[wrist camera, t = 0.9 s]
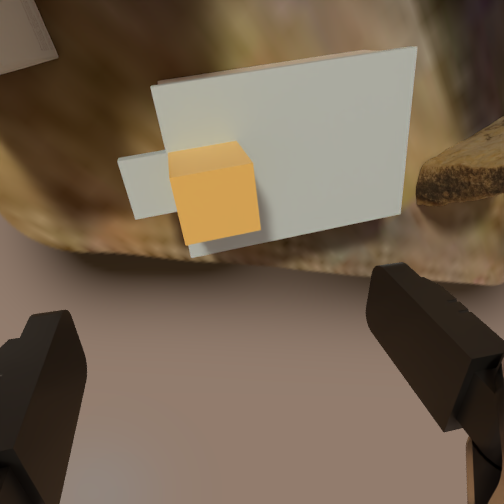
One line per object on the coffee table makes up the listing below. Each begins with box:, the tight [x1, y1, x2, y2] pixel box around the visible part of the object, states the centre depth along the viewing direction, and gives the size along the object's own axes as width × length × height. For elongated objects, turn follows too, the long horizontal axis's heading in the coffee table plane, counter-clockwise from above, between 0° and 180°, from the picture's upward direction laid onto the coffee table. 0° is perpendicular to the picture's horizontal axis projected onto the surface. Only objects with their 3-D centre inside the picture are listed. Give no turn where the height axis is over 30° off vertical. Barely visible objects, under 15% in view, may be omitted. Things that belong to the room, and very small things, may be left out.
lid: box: [117, 46, 417, 258], centre depth 24 cm, size 20×12×7 cm, turn 97°
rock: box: [416, 116, 504, 206], centre depth 33 cm, size 11×9×10 cm
